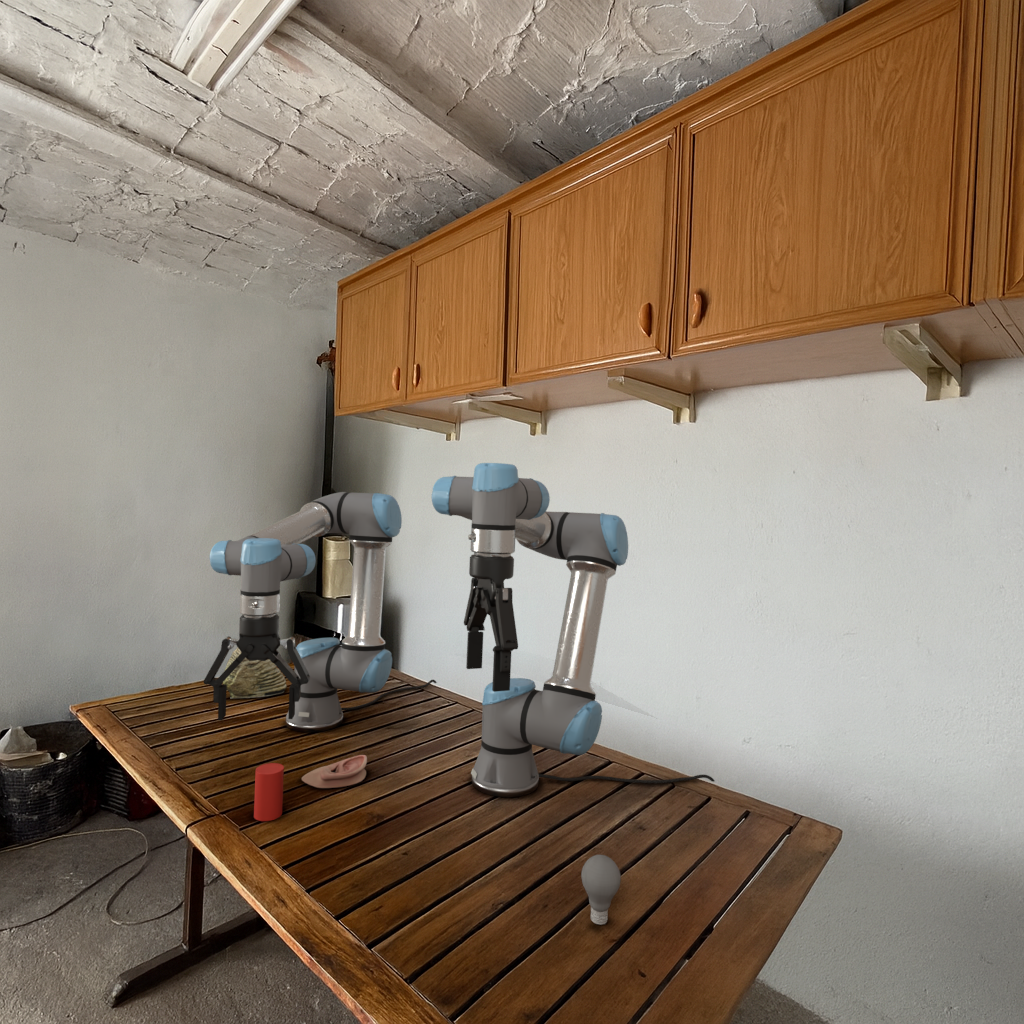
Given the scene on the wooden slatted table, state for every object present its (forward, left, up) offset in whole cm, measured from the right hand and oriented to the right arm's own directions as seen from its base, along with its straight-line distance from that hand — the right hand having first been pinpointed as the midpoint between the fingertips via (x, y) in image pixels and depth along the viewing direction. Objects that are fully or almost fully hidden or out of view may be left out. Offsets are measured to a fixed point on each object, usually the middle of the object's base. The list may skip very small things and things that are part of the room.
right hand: (486, 678), depth 108 cm
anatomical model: (+19, -44, -34) cm, 59 cm away
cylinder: (+33, -32, -34) cm, 57 cm away
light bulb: (-14, +17, -34) cm, 40 cm away
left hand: (+36, -38, -16) cm, 54 cm away
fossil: (+36, -111, -34) cm, 122 cm away
